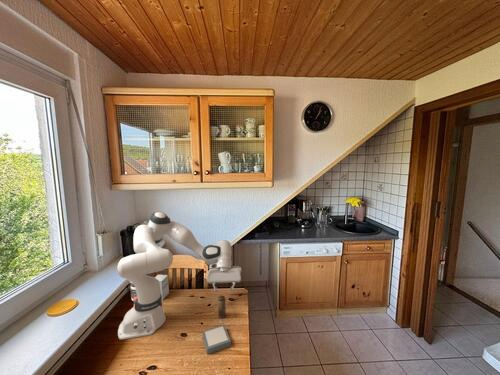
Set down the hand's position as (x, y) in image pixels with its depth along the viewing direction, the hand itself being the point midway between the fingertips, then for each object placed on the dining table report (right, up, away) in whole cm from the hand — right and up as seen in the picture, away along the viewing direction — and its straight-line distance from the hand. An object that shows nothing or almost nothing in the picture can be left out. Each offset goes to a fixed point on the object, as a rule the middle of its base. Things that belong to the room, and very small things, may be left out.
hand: (223, 290), depth 125 cm
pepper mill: (0, -11, -5) cm, 13 cm away
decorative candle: (-55, -10, +13) cm, 58 cm away
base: (-1, -14, -21) cm, 25 cm away
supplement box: (-42, -10, +14) cm, 45 cm away
